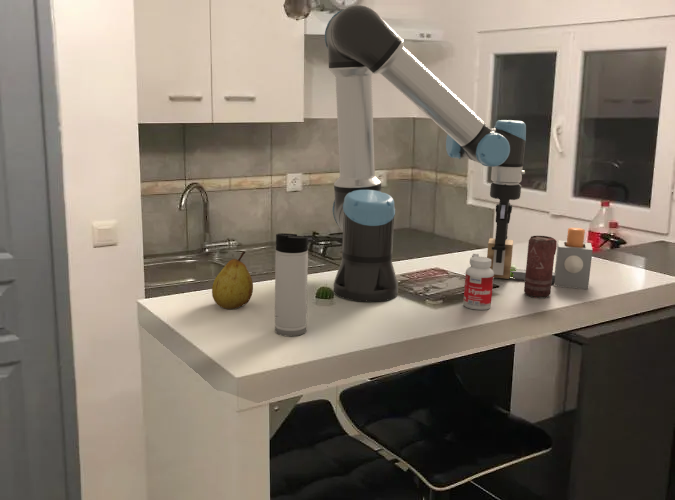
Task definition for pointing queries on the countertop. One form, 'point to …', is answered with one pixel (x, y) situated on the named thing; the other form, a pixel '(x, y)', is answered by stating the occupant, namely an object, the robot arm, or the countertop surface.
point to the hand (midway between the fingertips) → (498, 270)
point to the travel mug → (291, 284)
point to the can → (539, 266)
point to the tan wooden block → (507, 257)
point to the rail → (519, 272)
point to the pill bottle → (478, 284)
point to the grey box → (573, 265)
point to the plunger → (575, 237)
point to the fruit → (233, 285)
